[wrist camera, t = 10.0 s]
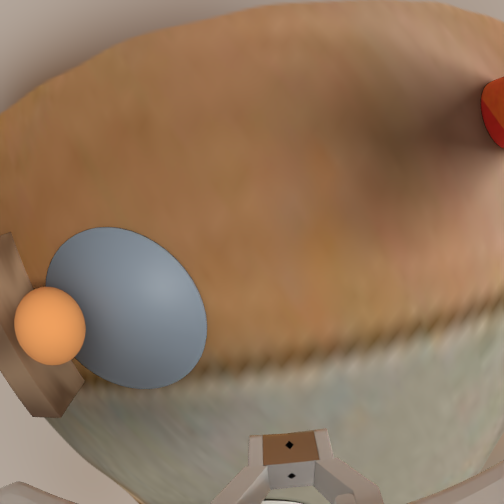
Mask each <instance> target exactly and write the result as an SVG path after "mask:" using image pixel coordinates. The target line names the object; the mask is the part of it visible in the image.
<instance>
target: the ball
mask: <svg viewBox="0 0 504 504" xmlns="http://www.w3.org/2000/svg"><path fill="white" fill-rule="evenodd" d="M14 328H15V333H16V337H17V340H18V342H19V344H20V346H21V347H22V349H23V350H24V351H25V352H26V354H27V355H28V356H30V357H31V358H32V359H34V360H35V361H37V362H39V363H42V364H45V365H60V364H64V363H66V362H68V361H70V360H71V359H73V358H74V357H75V356H76V355H77V354H78V352H79V351H80V349H81V347H82V345H83V343H84V339H85V333H86V325H85V319H84V316H83V313H82V311H81V309H80V307H79V305H78V304H77V302H76V301H75V300H74V299H73V298H72V297H71V296H70V295H69V294H67V293H66V292H64V291H63V290H60V289H58V288H54V287H40V288H37V289H34V290H32V291H30V292H29V293H28V294H26V295H25V296H24V297H23V299H22V300H21V301H20V303H19V305H18V307H17V309H16V313H15V318H14Z"/></svg>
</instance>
